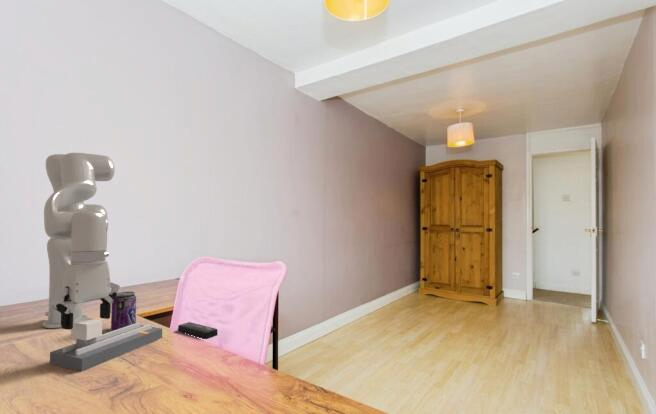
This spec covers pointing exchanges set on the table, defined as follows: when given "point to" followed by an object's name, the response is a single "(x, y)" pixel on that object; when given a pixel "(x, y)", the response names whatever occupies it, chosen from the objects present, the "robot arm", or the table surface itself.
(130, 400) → the table surface
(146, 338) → the fader console
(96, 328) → the fader knob
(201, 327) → the multiport hub
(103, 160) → the robot arm
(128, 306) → the beverage can
